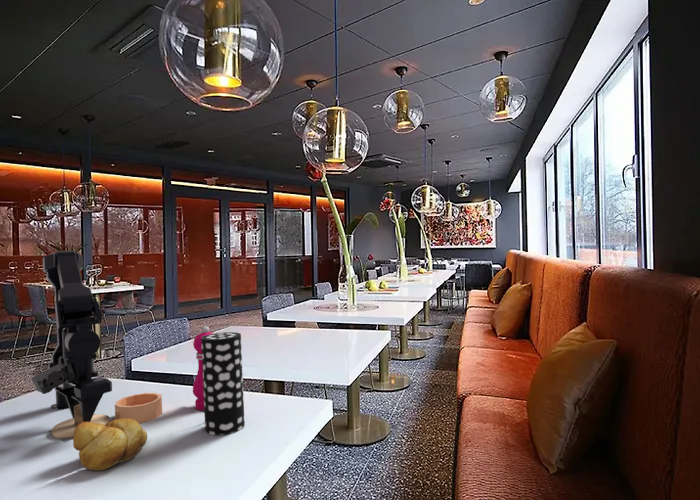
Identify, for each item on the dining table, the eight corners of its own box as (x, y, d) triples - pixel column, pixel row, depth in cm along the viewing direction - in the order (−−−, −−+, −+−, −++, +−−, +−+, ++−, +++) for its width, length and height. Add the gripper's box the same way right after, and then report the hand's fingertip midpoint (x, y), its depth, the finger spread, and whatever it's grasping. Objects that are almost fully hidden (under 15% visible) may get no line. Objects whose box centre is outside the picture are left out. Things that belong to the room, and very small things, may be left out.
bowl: (108, 420, 105) (107, 402, 105) (149, 407, 112) (148, 390, 112) (128, 430, 99) (127, 410, 99) (170, 415, 106) (169, 397, 106)
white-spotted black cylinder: (252, 422, 100) (248, 333, 100) (227, 437, 93) (223, 340, 92) (223, 418, 104) (219, 331, 103) (196, 432, 96) (192, 338, 96)
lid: (44, 431, 98) (42, 408, 98) (97, 415, 107) (96, 394, 107) (63, 443, 92) (62, 418, 92) (118, 425, 100) (117, 402, 100)
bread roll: (136, 440, 93) (135, 402, 93) (162, 451, 87) (160, 410, 87) (68, 466, 83) (66, 423, 83) (92, 481, 77) (90, 434, 77)
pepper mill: (214, 411, 108) (211, 328, 108) (187, 410, 109) (184, 328, 109) (228, 401, 115) (225, 323, 115) (203, 400, 116) (199, 323, 116)
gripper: (20, 353, 99) (24, 423, 99) (52, 364, 87) (55, 444, 87) (76, 343, 107) (79, 408, 108) (111, 352, 96) (114, 425, 96)
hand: (81, 420), depth 99 cm, fingers open, 6 cm apart
